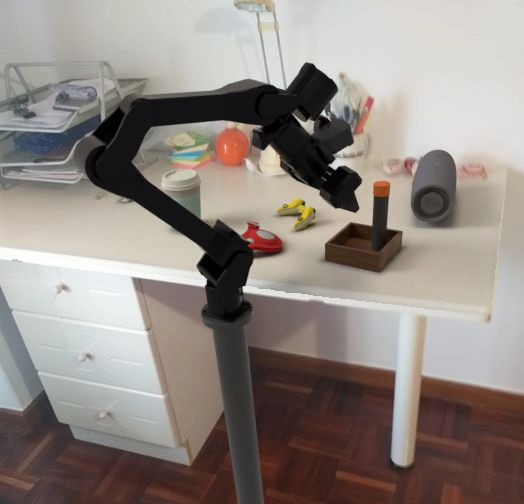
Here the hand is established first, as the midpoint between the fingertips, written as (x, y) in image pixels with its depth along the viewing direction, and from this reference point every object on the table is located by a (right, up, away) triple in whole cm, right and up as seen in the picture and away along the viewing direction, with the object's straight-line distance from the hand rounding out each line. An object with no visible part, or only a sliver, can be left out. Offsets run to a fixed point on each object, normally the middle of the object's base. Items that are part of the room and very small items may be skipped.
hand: (343, 200), depth 102 cm
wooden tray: (+5, -8, +9) cm, 13 cm away
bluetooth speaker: (+23, +5, +25) cm, 35 cm away
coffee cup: (-31, +1, +26) cm, 41 cm away
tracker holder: (-15, -5, +16) cm, 22 cm away
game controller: (-7, +2, +25) cm, 26 cm away
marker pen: (+8, -7, +9) cm, 14 cm away
